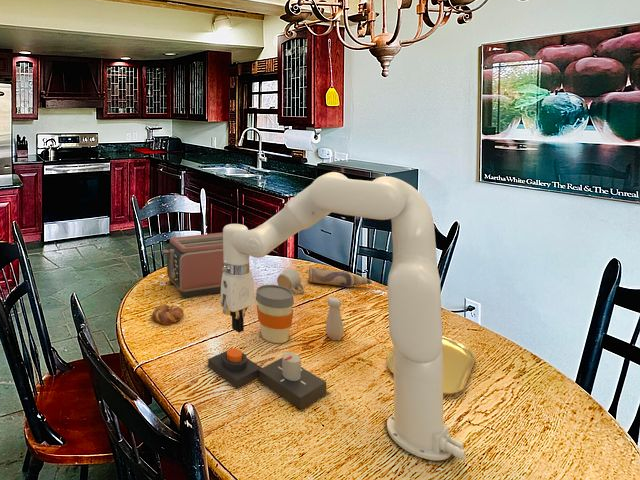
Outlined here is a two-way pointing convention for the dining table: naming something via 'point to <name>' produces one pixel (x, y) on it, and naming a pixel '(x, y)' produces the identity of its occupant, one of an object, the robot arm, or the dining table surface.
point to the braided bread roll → (167, 314)
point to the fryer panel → (293, 384)
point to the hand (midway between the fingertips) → (237, 330)
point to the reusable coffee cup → (275, 312)
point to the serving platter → (450, 365)
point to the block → (234, 369)
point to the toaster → (196, 264)
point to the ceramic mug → (290, 280)
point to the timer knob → (291, 366)
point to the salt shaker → (334, 319)
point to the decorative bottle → (335, 277)
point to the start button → (234, 355)
